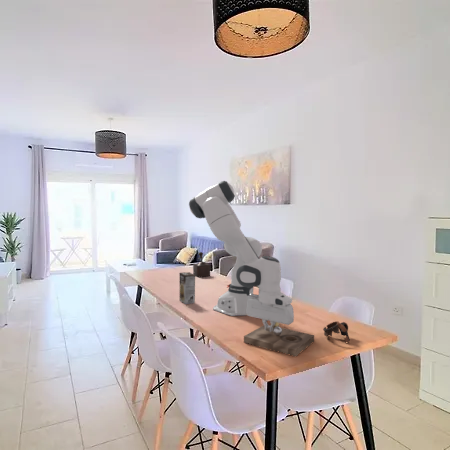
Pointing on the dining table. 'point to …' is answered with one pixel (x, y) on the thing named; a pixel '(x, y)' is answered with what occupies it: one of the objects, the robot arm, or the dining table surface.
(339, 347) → the dining table surface
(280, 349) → the seat plate
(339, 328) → the dark brown arched piece
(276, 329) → the steel ball
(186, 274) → the coffee box
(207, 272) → the manual coffee grinder
